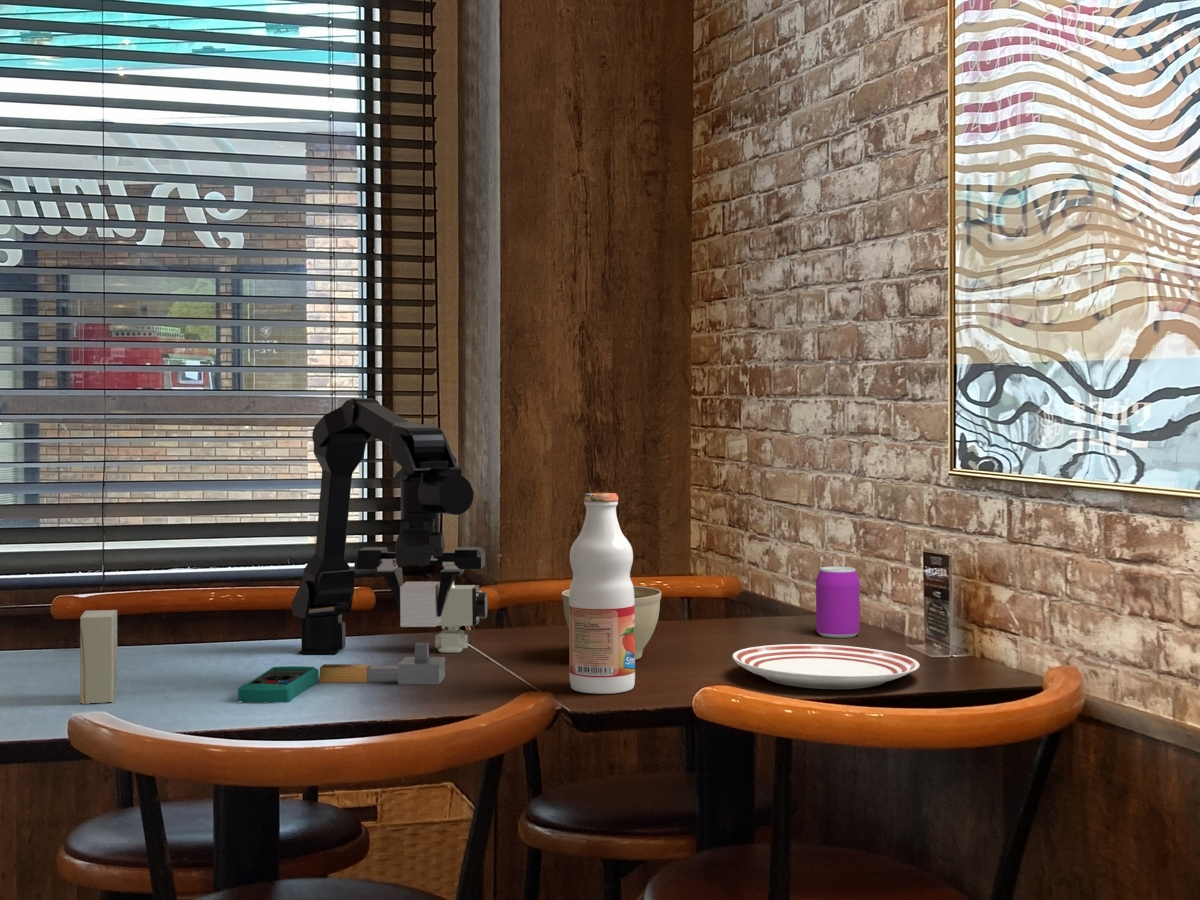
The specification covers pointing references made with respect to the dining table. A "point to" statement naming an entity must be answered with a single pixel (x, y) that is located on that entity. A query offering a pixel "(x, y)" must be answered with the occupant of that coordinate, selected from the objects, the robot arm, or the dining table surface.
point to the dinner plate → (824, 665)
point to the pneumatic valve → (460, 616)
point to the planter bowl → (636, 614)
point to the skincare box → (98, 656)
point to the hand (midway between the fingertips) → (420, 616)
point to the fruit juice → (601, 602)
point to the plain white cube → (419, 604)
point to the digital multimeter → (278, 684)
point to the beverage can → (837, 602)
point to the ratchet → (391, 670)
